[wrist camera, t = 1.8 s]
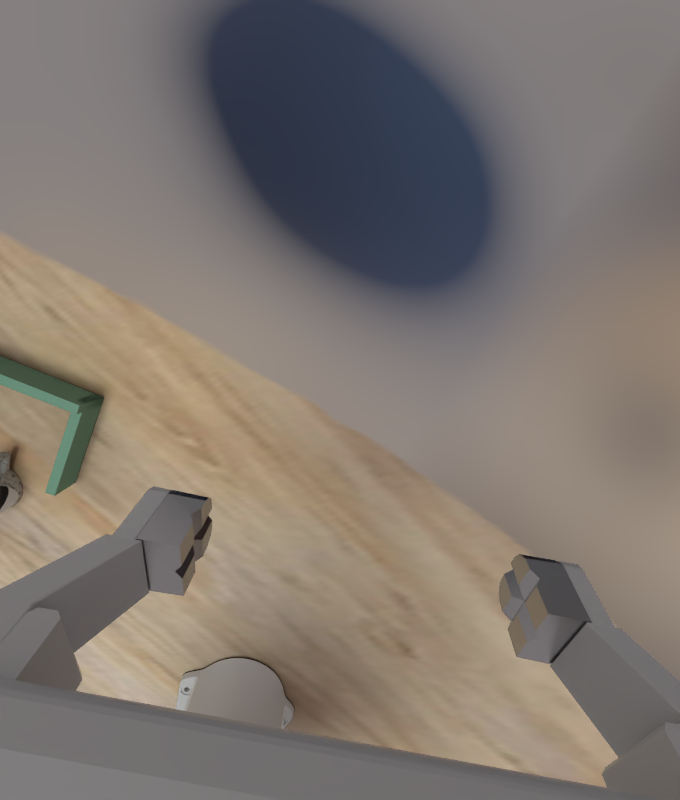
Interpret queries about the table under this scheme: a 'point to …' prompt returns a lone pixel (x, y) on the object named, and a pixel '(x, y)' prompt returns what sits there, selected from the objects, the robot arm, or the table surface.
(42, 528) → the table surface
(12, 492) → the mug
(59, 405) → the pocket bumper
